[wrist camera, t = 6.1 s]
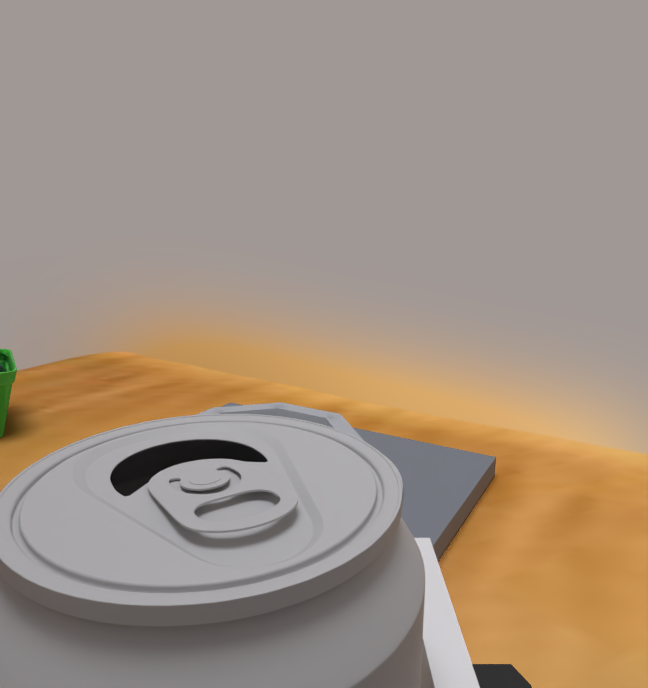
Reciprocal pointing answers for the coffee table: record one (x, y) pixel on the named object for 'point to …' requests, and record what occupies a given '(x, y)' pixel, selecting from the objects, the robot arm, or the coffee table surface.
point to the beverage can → (210, 561)
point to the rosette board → (408, 472)
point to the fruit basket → (5, 384)
